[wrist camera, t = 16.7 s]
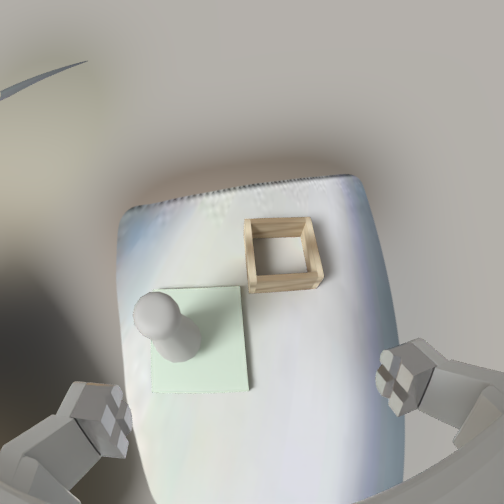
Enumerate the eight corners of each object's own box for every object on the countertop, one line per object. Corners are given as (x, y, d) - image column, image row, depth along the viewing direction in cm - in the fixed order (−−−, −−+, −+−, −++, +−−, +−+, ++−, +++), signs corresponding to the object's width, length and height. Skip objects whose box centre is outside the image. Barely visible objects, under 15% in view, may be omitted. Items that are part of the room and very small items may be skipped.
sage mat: (248, 391, 31) (248, 391, 30) (154, 392, 30) (151, 392, 29) (239, 288, 38) (239, 286, 37) (154, 292, 37) (152, 289, 36)
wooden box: (316, 288, 39) (324, 276, 35) (248, 293, 38) (250, 281, 34) (304, 232, 43) (310, 217, 40) (243, 234, 43) (244, 219, 39)
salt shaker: (209, 357, 32) (195, 335, 21) (166, 370, 31) (130, 354, 20) (195, 315, 35) (176, 272, 24) (154, 327, 34) (117, 290, 22)
